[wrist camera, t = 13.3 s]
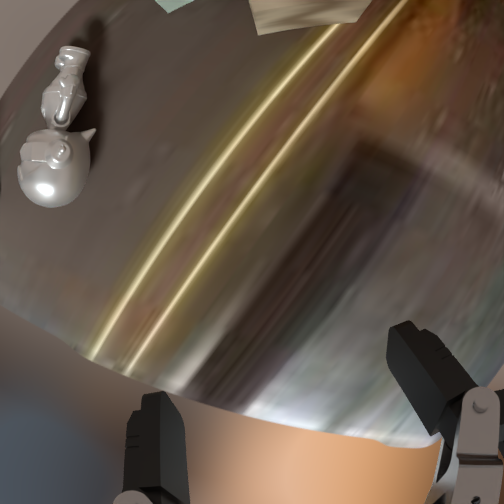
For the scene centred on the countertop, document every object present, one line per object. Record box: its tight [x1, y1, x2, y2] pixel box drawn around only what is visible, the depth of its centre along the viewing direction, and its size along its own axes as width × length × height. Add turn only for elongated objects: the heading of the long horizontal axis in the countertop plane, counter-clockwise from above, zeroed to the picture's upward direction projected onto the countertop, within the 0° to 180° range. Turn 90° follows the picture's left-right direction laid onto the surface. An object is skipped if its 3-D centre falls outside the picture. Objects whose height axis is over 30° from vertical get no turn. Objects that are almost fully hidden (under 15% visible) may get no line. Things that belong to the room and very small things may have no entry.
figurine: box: [17, 46, 96, 208], centre depth 25 cm, size 11×7×15 cm
